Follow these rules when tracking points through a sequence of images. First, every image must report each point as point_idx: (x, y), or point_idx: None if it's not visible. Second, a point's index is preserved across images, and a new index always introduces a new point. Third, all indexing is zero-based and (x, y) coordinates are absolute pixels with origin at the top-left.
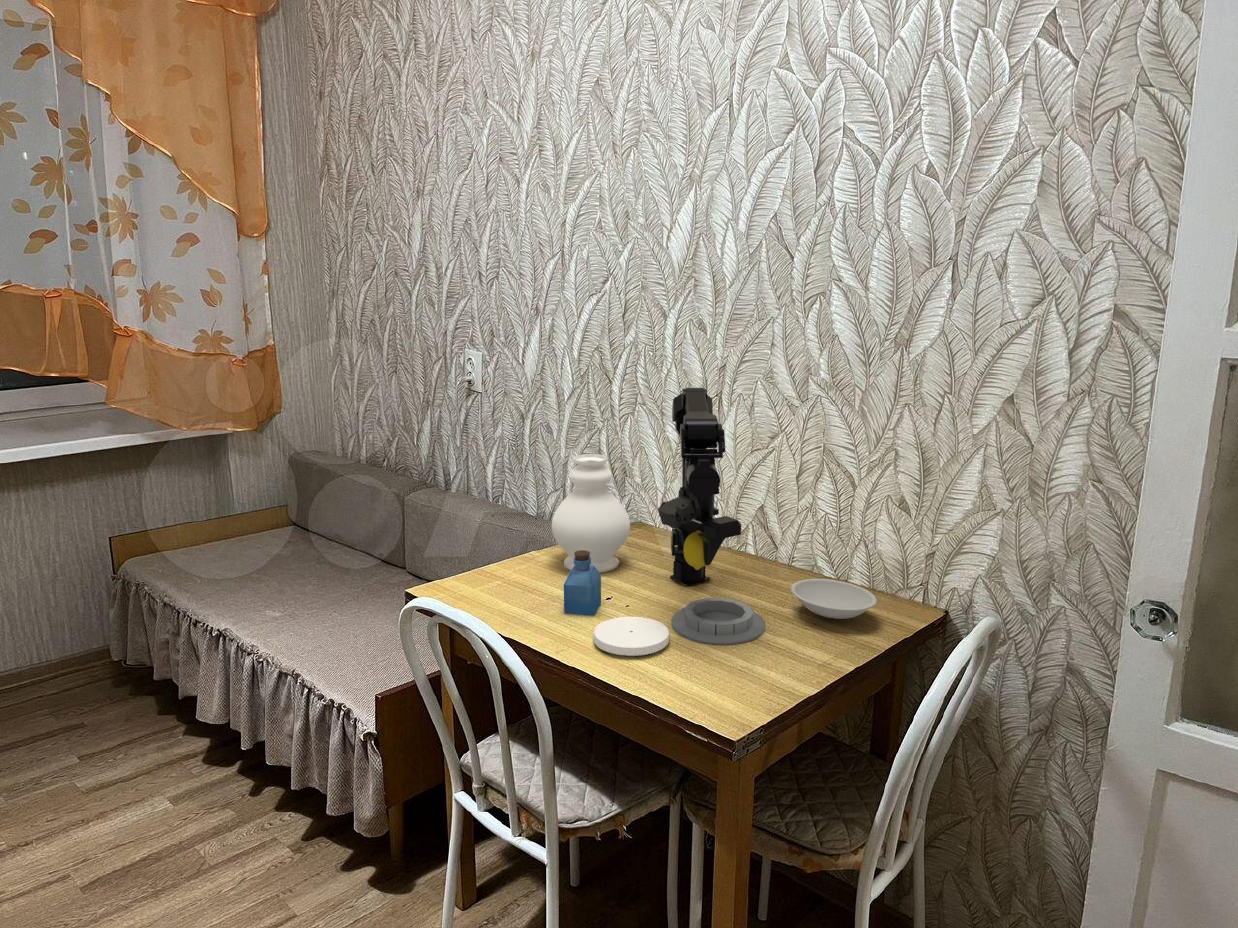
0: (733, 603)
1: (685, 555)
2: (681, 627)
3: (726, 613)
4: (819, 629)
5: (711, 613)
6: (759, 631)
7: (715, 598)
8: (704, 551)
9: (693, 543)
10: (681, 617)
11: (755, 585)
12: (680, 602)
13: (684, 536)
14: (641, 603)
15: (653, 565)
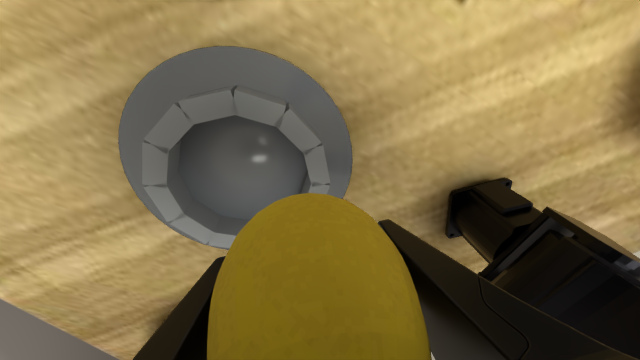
0: None
1: (309, 208)
2: (233, 65)
3: None
4: None
5: (293, 176)
6: (168, 224)
7: None
8: (176, 338)
9: (241, 355)
10: (297, 99)
11: None
12: (395, 145)
13: (470, 331)
14: (447, 49)
15: (577, 175)
